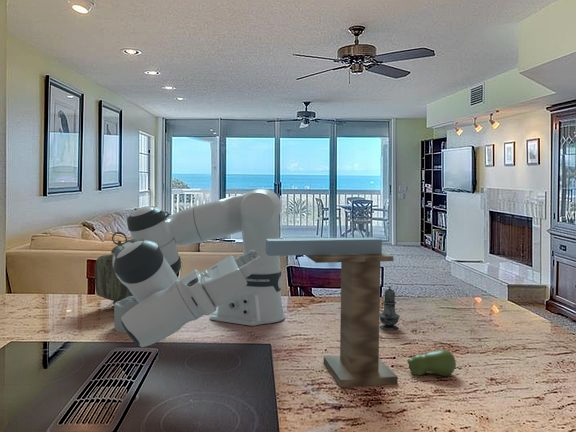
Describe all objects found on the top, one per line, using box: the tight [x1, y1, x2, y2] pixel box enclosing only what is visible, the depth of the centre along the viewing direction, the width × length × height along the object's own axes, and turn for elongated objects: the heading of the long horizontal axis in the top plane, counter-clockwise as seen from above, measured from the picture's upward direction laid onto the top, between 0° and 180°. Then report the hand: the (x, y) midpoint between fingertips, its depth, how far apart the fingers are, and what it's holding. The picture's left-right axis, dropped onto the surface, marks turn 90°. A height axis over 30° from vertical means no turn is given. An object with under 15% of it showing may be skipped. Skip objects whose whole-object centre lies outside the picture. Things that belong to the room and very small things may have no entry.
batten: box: [266, 236, 383, 257], centre depth 105 cm, size 24×4×3 cm, turn 100°
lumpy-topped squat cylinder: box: [113, 296, 138, 334], centre depth 140 cm, size 10×13×9 cm
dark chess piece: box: [379, 285, 401, 332], centre depth 142 cm, size 6×6×12 cm
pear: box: [406, 349, 457, 377], centre depth 108 cm, size 6×5×10 cm
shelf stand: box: [304, 251, 399, 388], centre depth 107 cm, size 17×14×26 cm
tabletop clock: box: [94, 231, 133, 312], centre depth 161 cm, size 14×9×25 cm, turn 58°
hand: (259, 256), depth 102 cm, fingers open, 8 cm apart
